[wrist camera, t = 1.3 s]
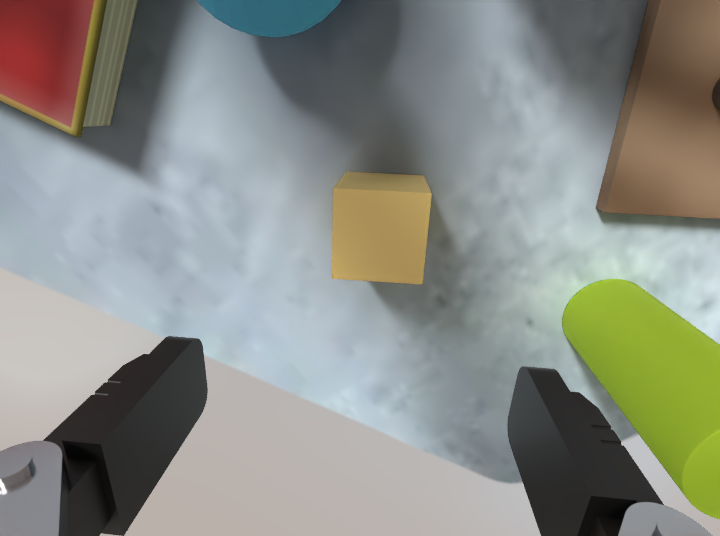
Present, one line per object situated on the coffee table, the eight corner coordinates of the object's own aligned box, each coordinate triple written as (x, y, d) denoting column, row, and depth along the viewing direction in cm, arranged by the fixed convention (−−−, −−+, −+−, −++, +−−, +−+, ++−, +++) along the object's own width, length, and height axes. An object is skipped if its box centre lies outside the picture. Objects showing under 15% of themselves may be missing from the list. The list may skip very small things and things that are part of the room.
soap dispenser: (532, 322, 29) (775, 700, 10) (620, 261, 27) (1120, 599, 8) (580, 374, 30) (872, 794, 12) (667, 320, 28) (1195, 728, 10)
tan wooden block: (346, 171, 26) (333, 188, 21) (423, 175, 26) (431, 193, 20) (344, 244, 28) (331, 278, 22) (416, 249, 28) (422, 284, 22)
